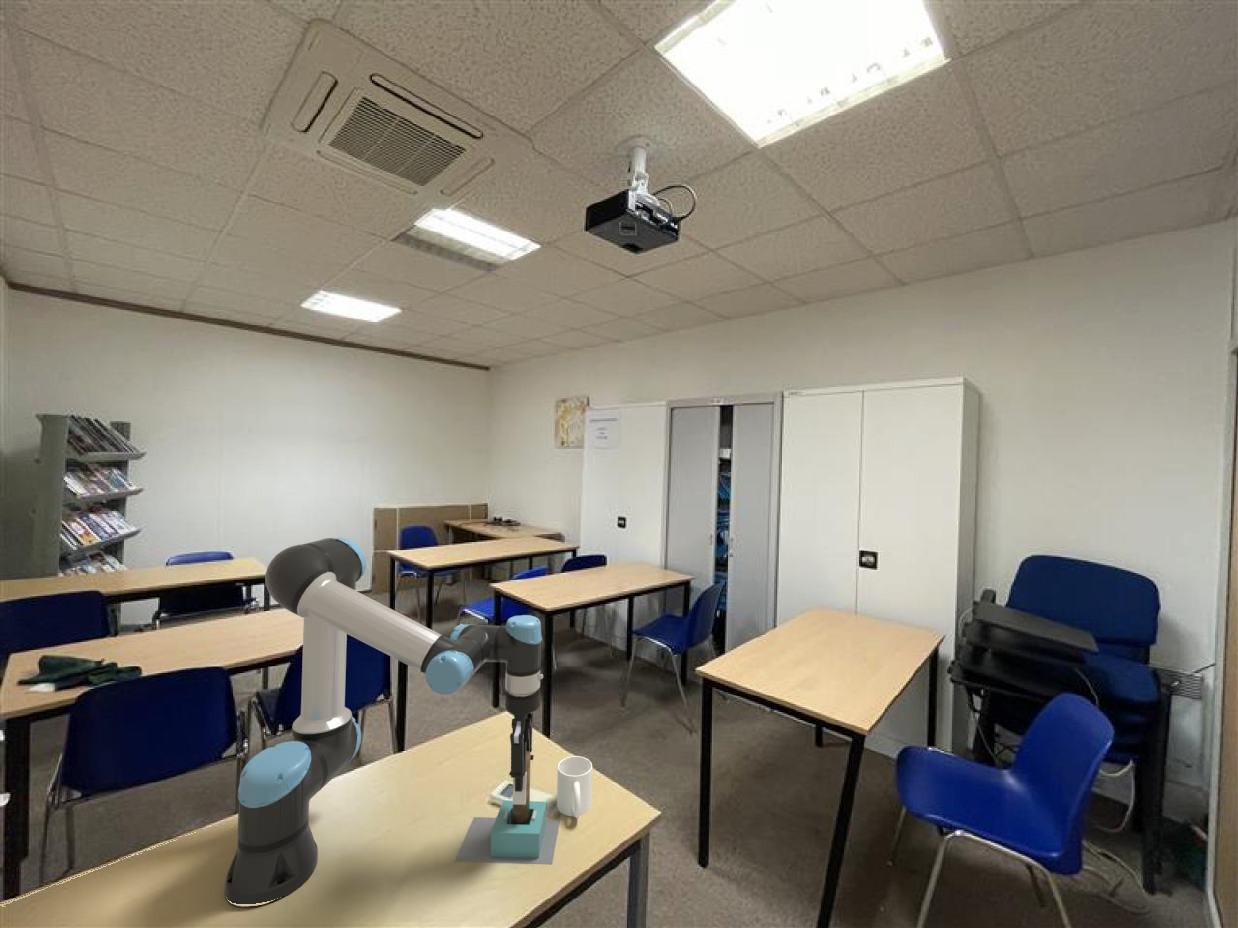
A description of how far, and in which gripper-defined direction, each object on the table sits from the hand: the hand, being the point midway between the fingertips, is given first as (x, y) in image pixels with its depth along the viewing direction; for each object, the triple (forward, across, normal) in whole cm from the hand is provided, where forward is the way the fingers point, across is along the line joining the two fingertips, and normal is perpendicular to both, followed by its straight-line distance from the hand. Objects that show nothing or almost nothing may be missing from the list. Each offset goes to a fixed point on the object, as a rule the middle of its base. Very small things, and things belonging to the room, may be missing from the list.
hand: (521, 797), depth 109 cm
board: (+10, 0, +2) cm, 10 cm away
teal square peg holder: (+9, 0, 0) cm, 9 cm away
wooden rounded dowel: (+5, 0, 0) cm, 5 cm away
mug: (+10, +10, -11) cm, 18 cm away
